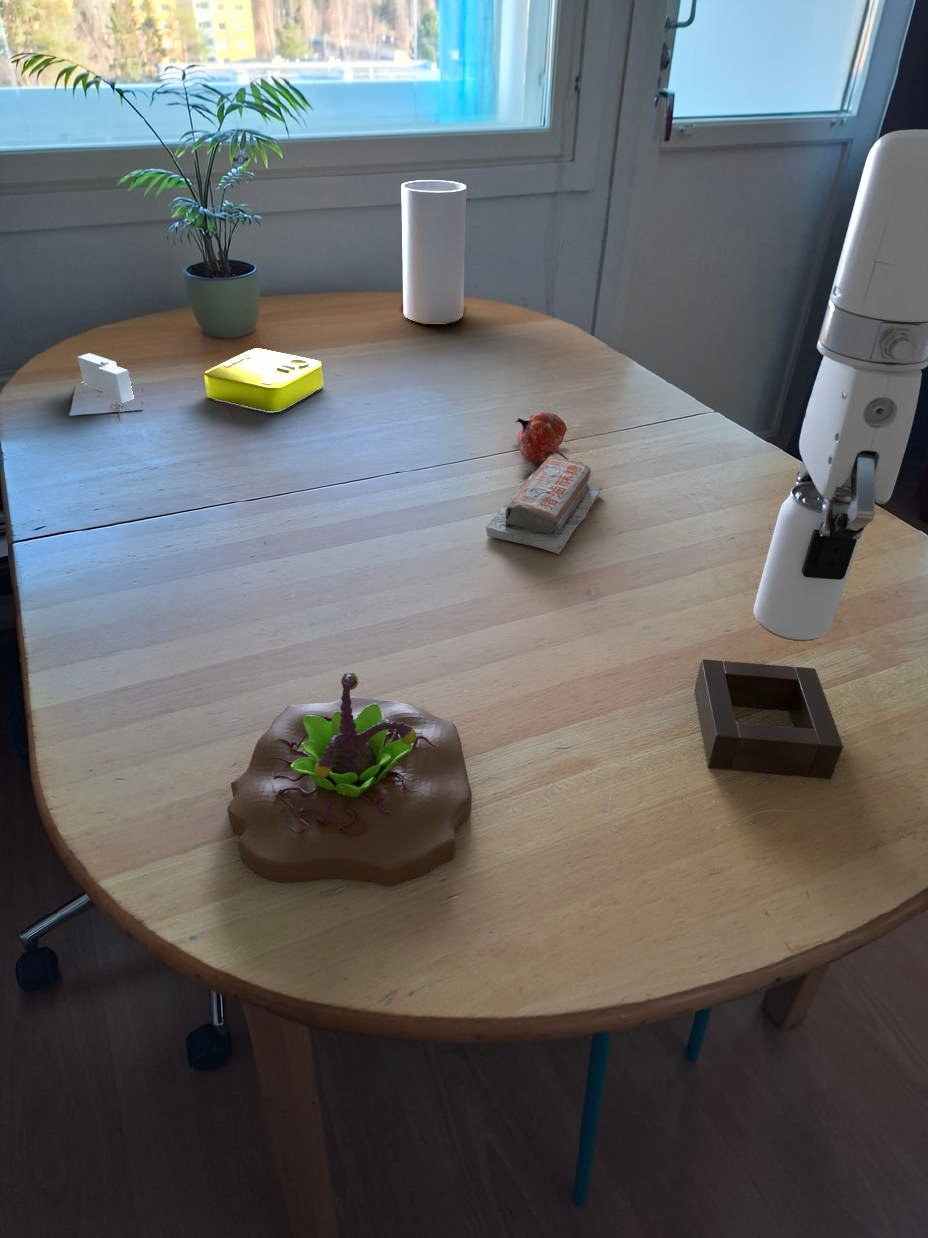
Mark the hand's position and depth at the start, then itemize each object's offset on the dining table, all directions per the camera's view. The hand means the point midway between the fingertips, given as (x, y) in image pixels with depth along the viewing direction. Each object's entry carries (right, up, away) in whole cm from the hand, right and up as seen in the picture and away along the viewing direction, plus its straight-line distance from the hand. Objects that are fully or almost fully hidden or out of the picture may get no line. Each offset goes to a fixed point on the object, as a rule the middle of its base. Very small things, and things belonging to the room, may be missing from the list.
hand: (812, 551), depth 71 cm
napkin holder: (-87, +31, +73) cm, 118 cm away
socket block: (-1, -16, +11) cm, 19 cm away
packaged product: (-18, +8, +44) cm, 48 cm away
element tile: (-62, +33, +76) cm, 103 cm away
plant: (-38, -20, +3) cm, 43 cm away
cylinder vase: (-35, +58, +112) cm, 131 cm away
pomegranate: (-17, +18, +58) cm, 63 cm away
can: (0, -6, +4) cm, 7 cm away
